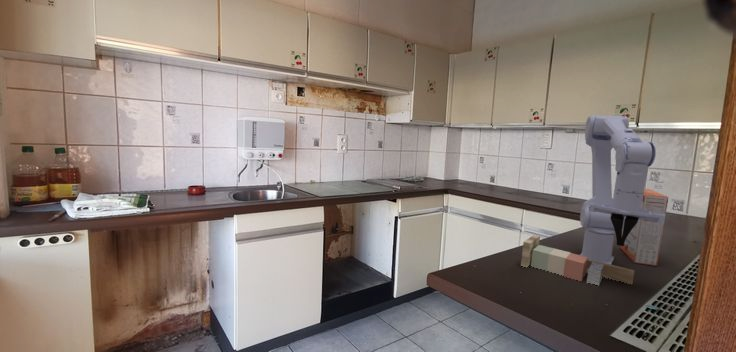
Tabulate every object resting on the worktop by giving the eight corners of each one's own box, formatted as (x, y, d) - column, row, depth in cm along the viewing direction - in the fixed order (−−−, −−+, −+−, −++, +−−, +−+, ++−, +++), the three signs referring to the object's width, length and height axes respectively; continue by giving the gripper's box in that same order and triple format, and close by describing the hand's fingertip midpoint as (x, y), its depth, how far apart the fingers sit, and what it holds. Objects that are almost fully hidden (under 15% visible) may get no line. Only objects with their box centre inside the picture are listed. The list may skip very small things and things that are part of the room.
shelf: (532, 256, 100) (534, 234, 99) (632, 283, 84) (636, 257, 83) (520, 266, 92) (523, 242, 91) (629, 298, 76) (633, 269, 75)
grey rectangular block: (590, 276, 88) (592, 261, 87) (601, 279, 86) (604, 264, 86) (586, 283, 84) (588, 268, 83) (598, 286, 82) (600, 271, 81)
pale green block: (537, 261, 97) (539, 244, 96) (552, 265, 94) (554, 248, 93) (530, 267, 92) (532, 249, 91) (546, 271, 90) (548, 253, 89)
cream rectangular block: (552, 265, 94) (554, 248, 93) (568, 269, 91) (570, 252, 91) (546, 271, 90) (548, 253, 89) (563, 276, 87) (565, 258, 86)
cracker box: (618, 248, 111) (627, 186, 108) (640, 251, 109) (651, 188, 106) (632, 263, 98) (643, 193, 95) (657, 267, 96) (670, 196, 93)
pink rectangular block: (568, 270, 91) (570, 252, 90) (585, 275, 88) (587, 257, 88) (563, 276, 87) (565, 258, 86) (580, 282, 84) (583, 263, 83)
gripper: (590, 188, 83) (583, 240, 85) (668, 198, 74) (658, 257, 76) (595, 185, 88) (588, 235, 90) (668, 194, 79) (658, 249, 81)
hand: (620, 244), depth 83 cm, fingers closed
